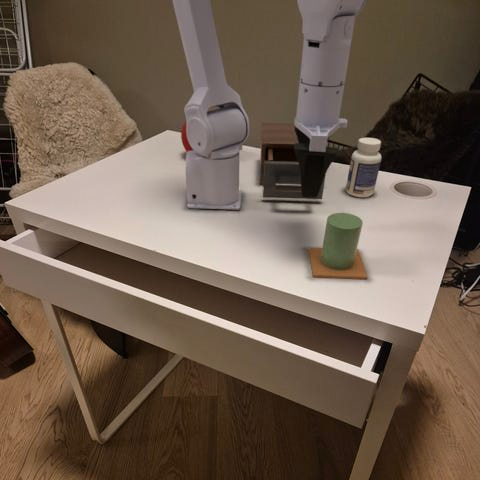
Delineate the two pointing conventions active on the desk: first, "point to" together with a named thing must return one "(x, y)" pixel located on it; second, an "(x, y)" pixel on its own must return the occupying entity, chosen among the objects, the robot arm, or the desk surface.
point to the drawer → (283, 175)
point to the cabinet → (275, 140)
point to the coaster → (322, 271)
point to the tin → (341, 241)
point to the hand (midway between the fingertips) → (308, 185)
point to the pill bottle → (364, 168)
